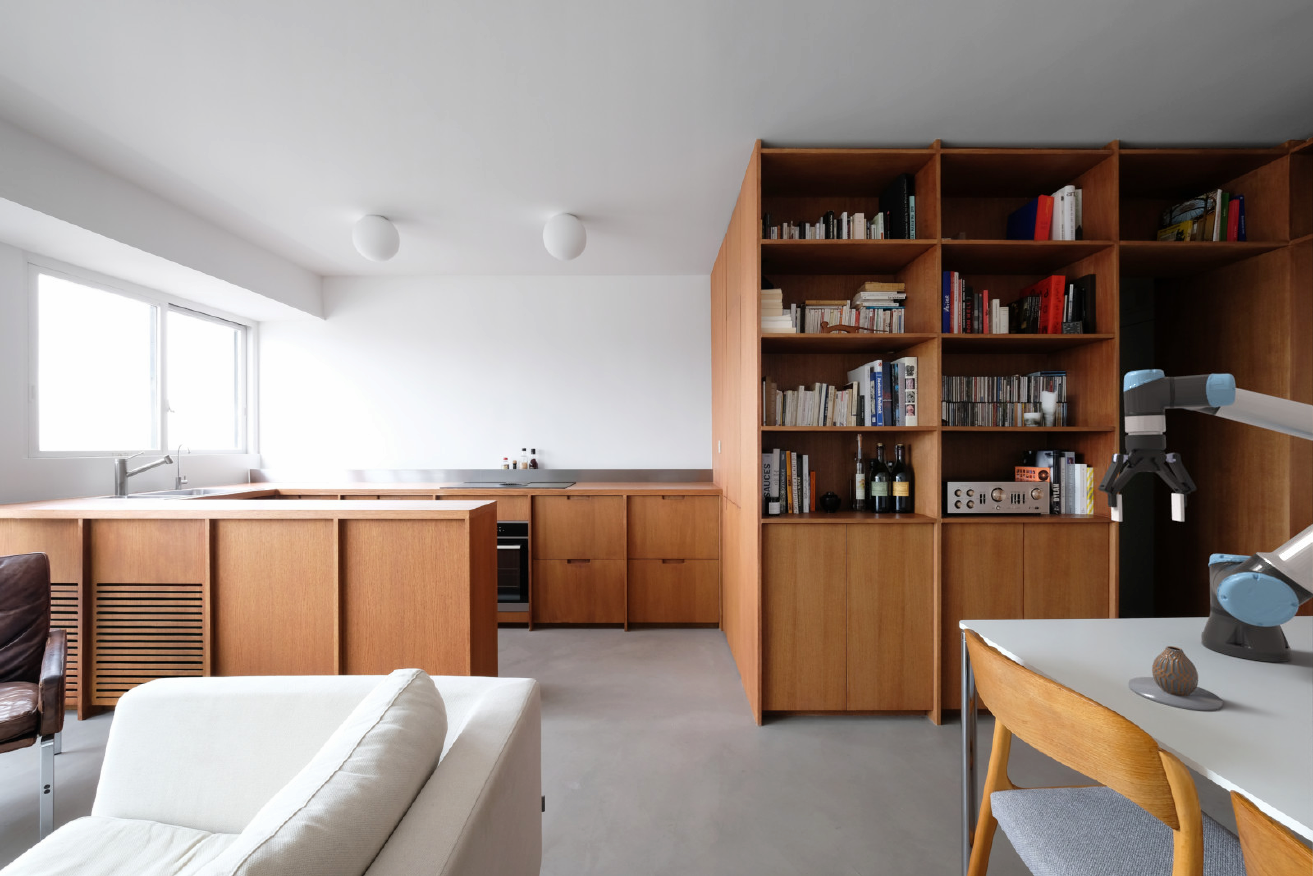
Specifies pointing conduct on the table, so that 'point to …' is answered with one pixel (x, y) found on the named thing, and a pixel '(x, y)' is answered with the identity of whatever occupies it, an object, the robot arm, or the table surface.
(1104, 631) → the table surface
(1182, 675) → the vase
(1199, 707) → the disc
